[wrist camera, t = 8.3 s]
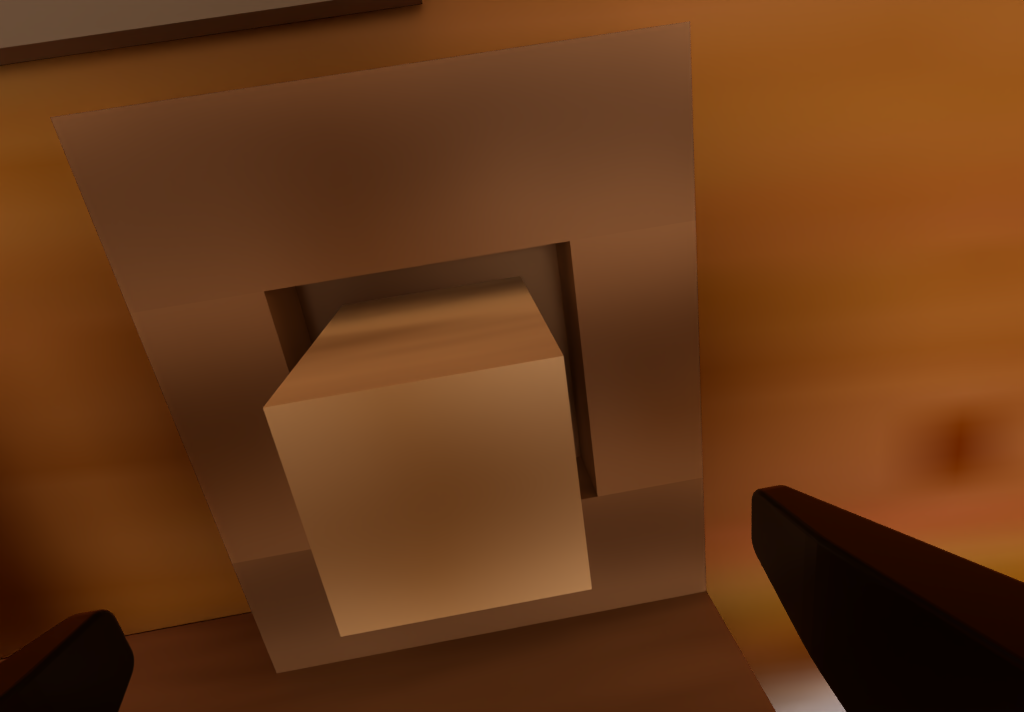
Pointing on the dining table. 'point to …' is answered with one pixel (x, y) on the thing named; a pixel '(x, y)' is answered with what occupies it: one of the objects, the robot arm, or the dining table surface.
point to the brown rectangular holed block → (413, 269)
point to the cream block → (434, 457)
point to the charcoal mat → (148, 21)
